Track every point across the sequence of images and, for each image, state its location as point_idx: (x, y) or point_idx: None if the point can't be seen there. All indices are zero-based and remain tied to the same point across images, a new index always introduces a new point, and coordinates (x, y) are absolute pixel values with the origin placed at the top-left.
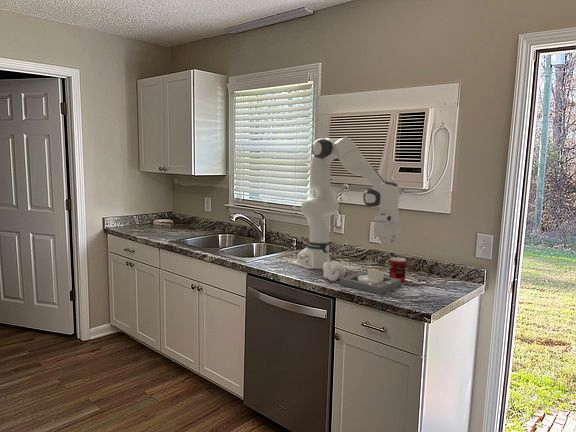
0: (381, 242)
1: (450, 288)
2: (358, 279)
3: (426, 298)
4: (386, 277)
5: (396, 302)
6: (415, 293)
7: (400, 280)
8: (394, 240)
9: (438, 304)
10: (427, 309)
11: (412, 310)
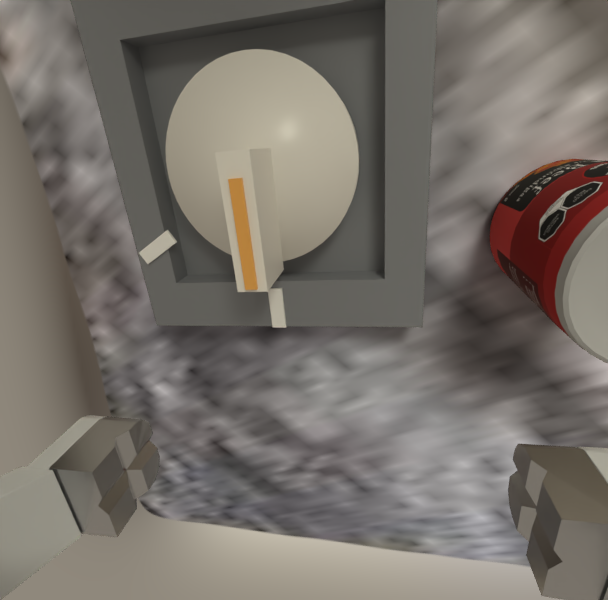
0: (41, 475)
1: None
2: (178, 108)
3: (300, 471)
4: (401, 226)
5: (151, 409)
6: (333, 419)
7: (416, 325)
8: (601, 587)
9: (267, 517)
10: (185, 504)
11: None
